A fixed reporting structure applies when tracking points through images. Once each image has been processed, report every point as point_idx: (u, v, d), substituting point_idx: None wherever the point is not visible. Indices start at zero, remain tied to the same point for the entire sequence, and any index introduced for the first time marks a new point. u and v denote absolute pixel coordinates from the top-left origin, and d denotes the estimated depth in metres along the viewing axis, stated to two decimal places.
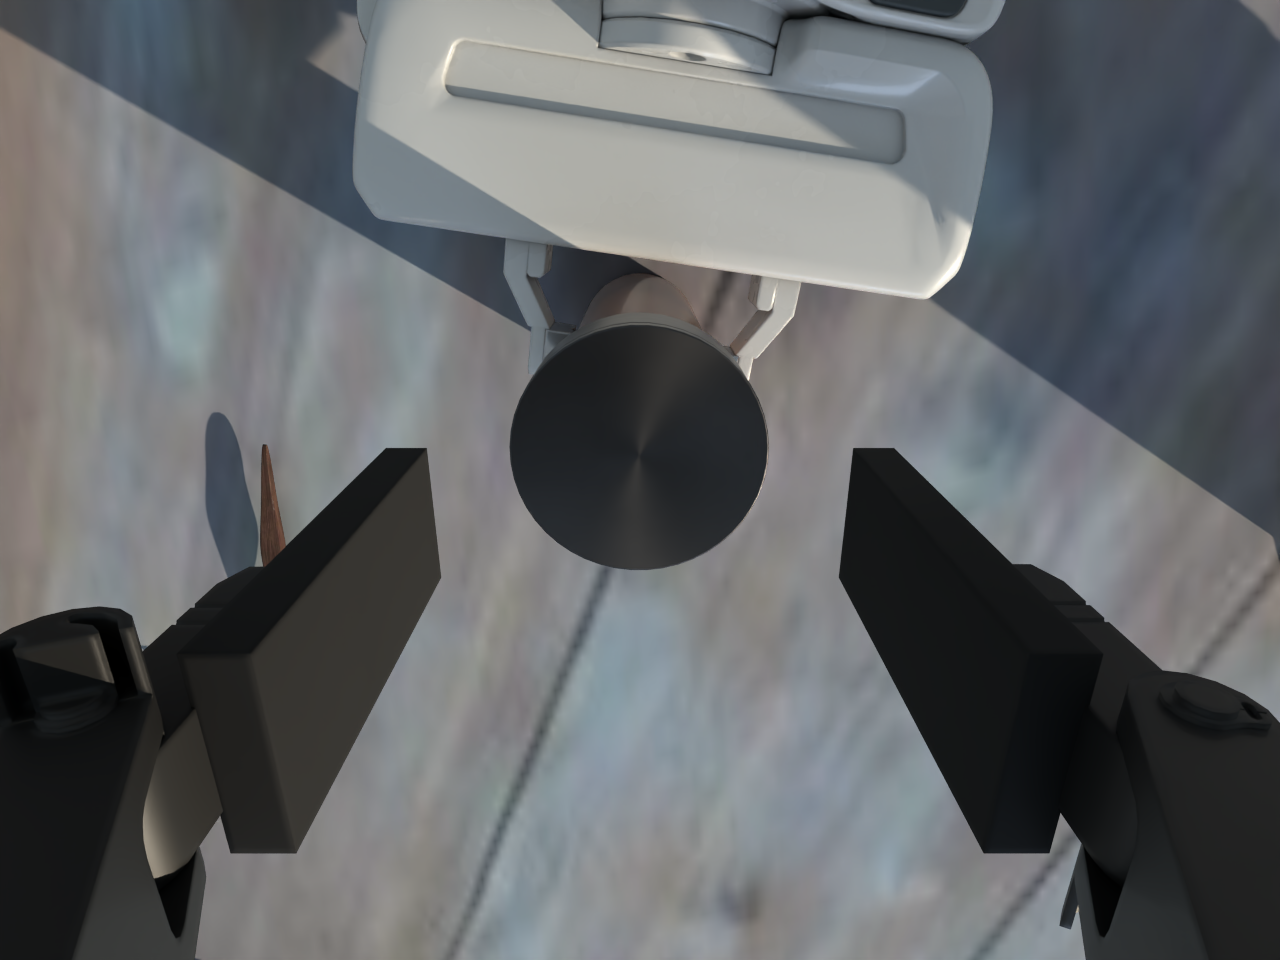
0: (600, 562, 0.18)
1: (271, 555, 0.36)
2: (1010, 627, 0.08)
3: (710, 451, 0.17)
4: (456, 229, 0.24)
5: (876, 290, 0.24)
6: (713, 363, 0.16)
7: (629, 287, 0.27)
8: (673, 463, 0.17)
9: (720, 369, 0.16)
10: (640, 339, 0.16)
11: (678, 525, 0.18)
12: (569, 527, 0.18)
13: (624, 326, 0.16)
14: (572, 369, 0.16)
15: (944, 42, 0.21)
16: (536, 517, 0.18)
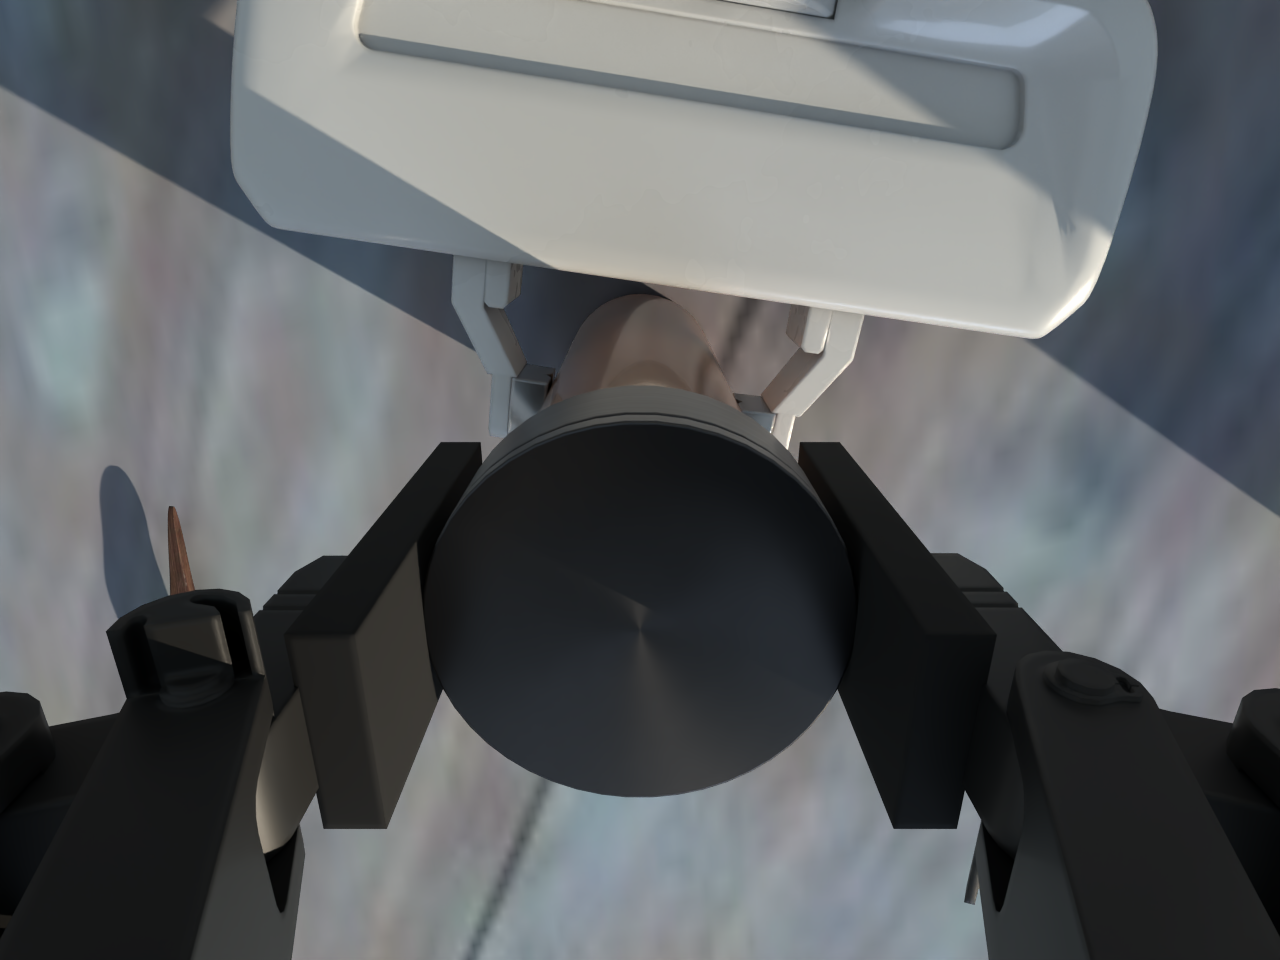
0: (577, 787, 0.11)
1: None
2: (913, 610, 0.08)
3: (759, 623, 0.10)
4: (382, 242, 0.17)
5: (971, 327, 0.17)
6: (769, 485, 0.09)
7: (626, 317, 0.20)
8: (697, 642, 0.10)
9: (782, 494, 0.09)
10: (642, 445, 0.09)
11: (703, 733, 0.11)
12: (525, 736, 0.11)
13: (614, 423, 0.09)
14: (524, 494, 0.09)
15: None
16: (471, 722, 0.11)
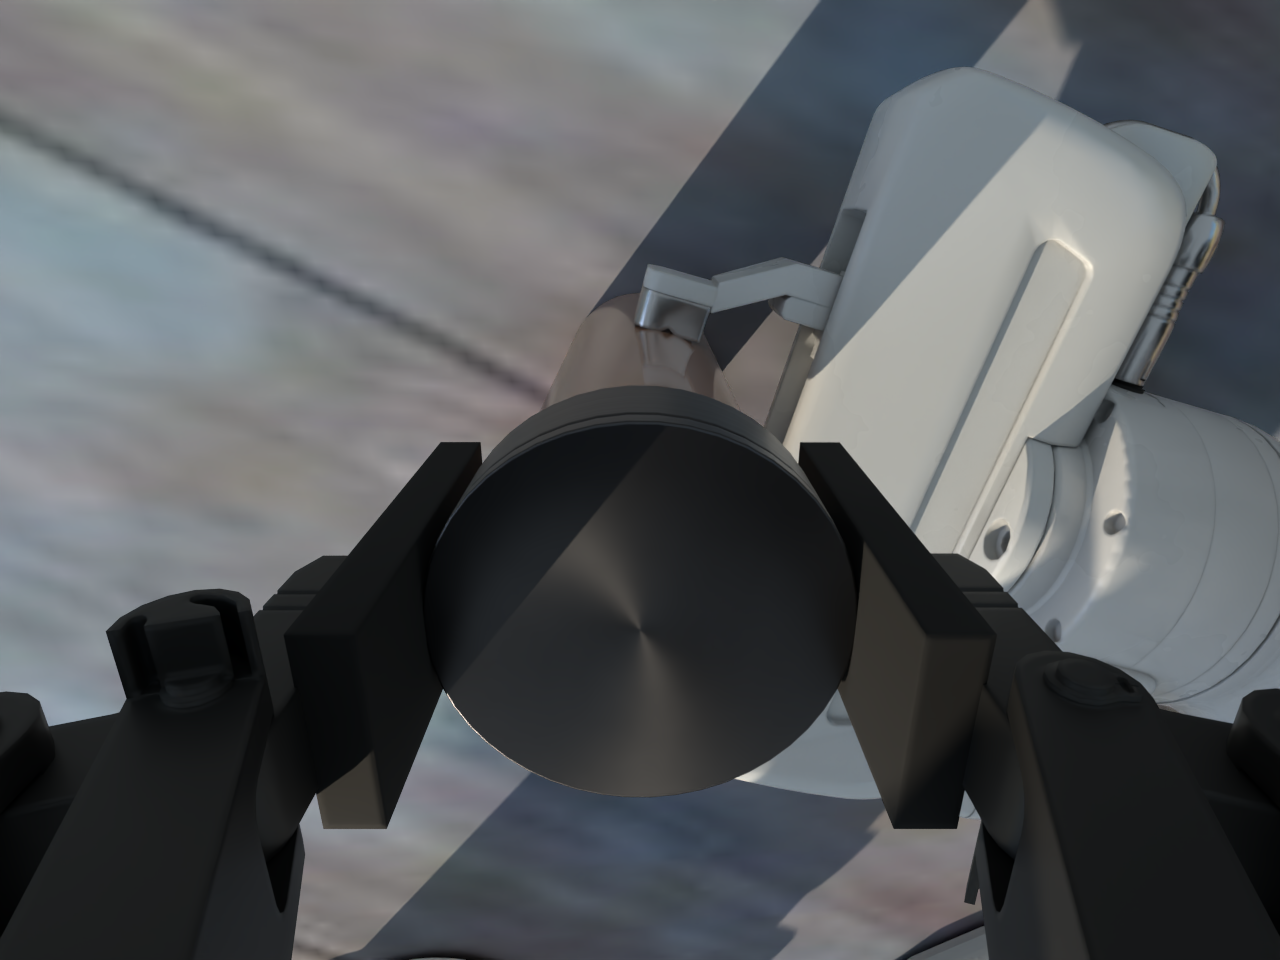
0: (576, 786, 0.11)
1: None
2: (913, 610, 0.08)
3: (759, 624, 0.10)
4: (874, 213, 0.17)
5: None
6: (770, 485, 0.09)
7: None
8: (697, 642, 0.10)
9: (782, 495, 0.09)
10: (644, 445, 0.09)
11: (703, 733, 0.11)
12: (525, 736, 0.11)
13: (616, 423, 0.09)
14: (525, 493, 0.09)
15: None
16: (469, 721, 0.11)
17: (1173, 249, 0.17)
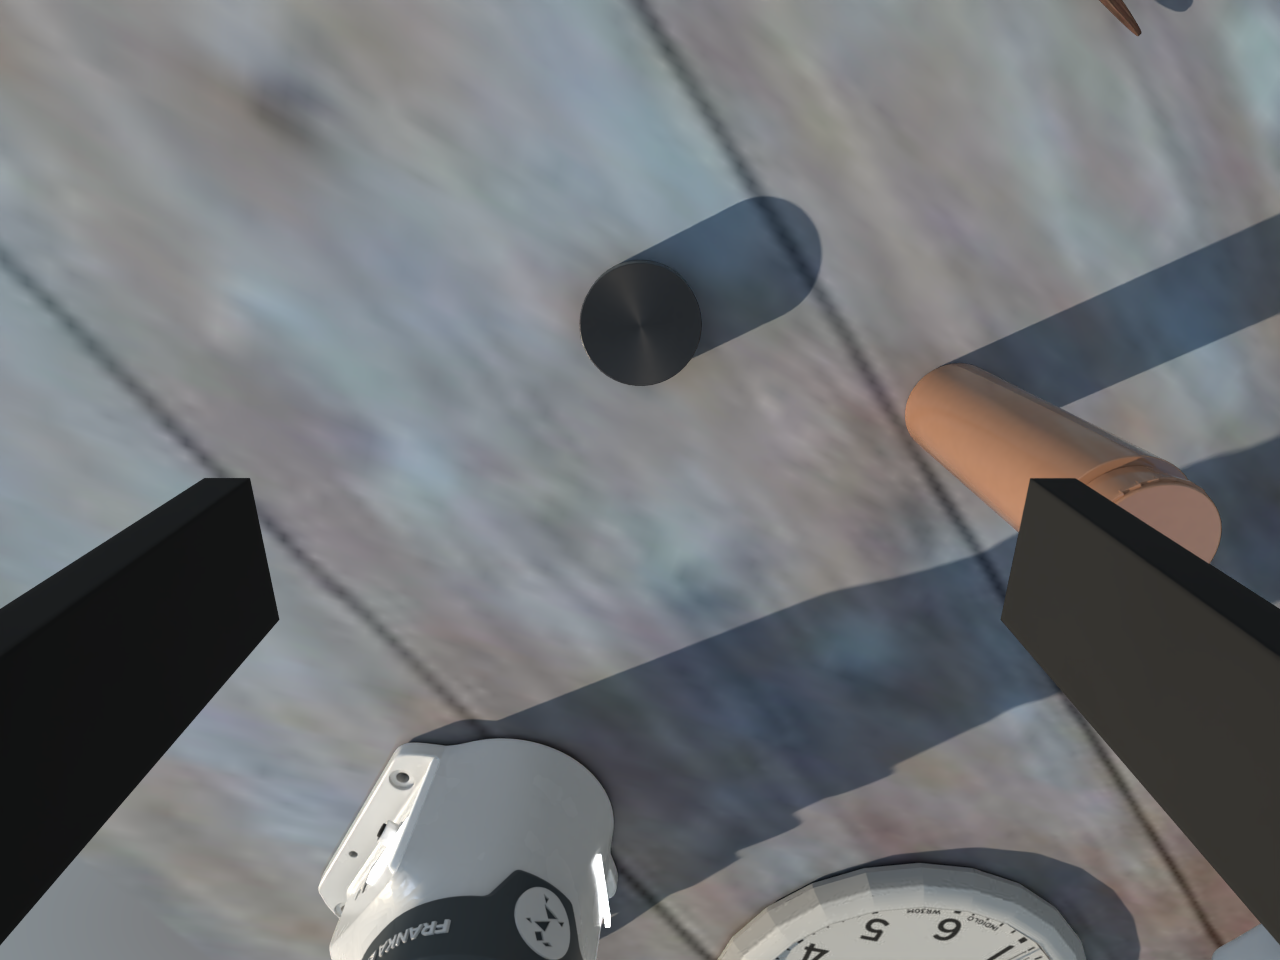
0: (621, 381, 0.37)
1: None
2: None
3: (674, 324, 0.36)
4: None
5: None
6: (674, 281, 0.36)
7: None
8: (656, 330, 0.36)
9: (678, 283, 0.36)
10: (641, 269, 0.35)
11: (659, 361, 0.37)
12: (607, 363, 0.37)
13: (633, 263, 0.35)
14: (609, 284, 0.36)
15: None
16: (591, 357, 0.37)
17: None
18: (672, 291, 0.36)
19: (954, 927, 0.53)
